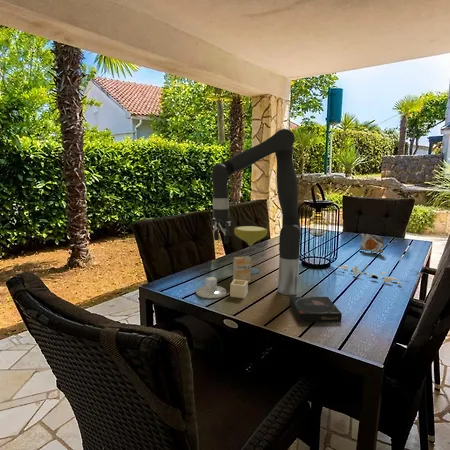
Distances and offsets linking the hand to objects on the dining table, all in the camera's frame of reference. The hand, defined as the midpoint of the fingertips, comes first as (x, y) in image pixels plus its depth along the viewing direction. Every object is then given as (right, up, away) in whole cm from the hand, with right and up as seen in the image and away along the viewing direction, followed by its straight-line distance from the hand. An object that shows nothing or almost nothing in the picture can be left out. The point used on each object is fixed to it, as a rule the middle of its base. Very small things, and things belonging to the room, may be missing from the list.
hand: (221, 241), depth 160 cm
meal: (+101, -12, +71) cm, 124 cm away
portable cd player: (+38, -29, -20) cm, 52 cm away
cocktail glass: (+16, -18, +31) cm, 39 cm away
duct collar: (+8, -25, -3) cm, 26 cm away
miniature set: (+80, -21, +25) cm, 86 cm away
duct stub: (-5, -24, -1) cm, 25 cm away
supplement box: (+10, -22, +14) cm, 28 cm away
